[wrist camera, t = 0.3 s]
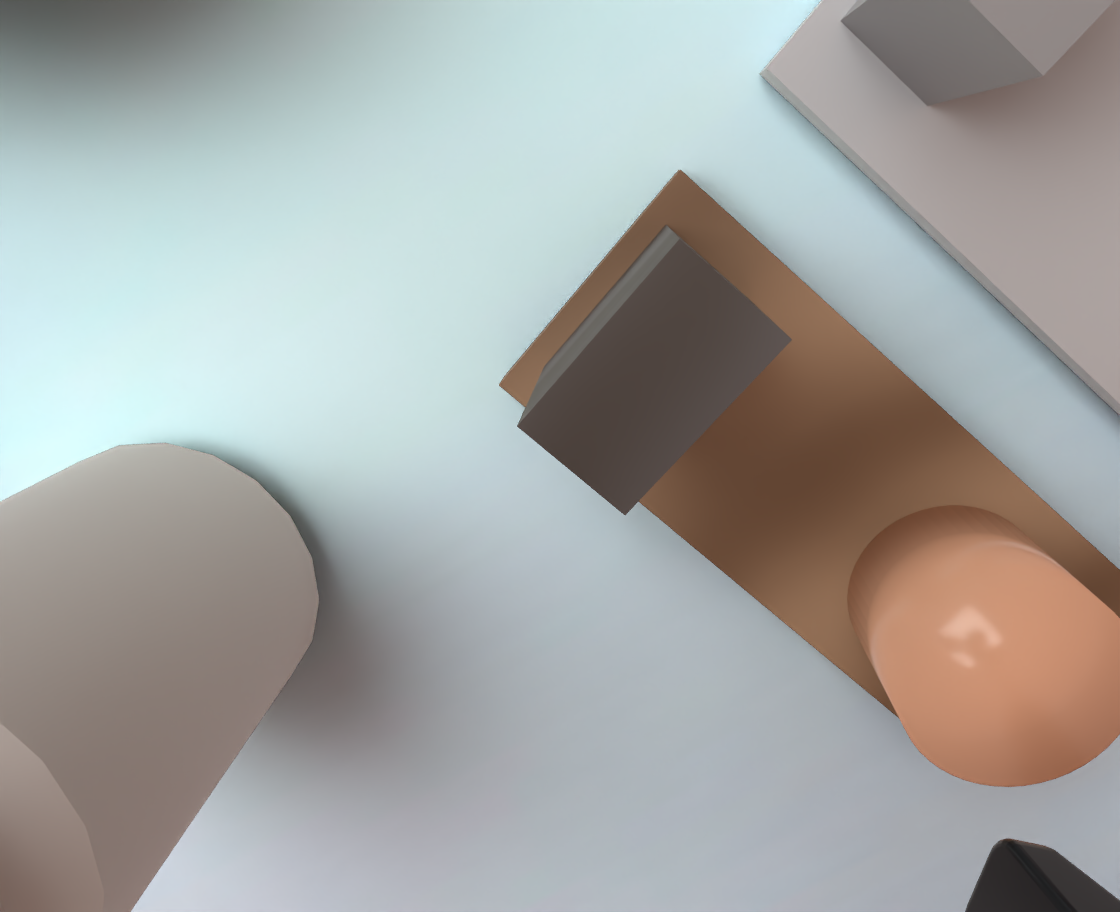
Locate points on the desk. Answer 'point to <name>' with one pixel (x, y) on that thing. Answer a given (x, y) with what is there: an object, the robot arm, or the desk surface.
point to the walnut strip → (757, 421)
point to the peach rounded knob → (987, 647)
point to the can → (134, 662)
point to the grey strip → (987, 145)
